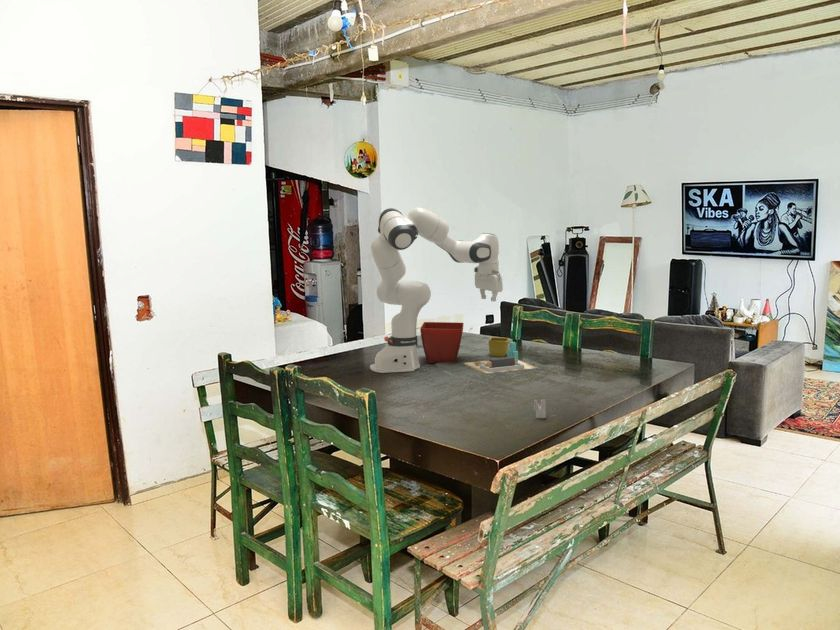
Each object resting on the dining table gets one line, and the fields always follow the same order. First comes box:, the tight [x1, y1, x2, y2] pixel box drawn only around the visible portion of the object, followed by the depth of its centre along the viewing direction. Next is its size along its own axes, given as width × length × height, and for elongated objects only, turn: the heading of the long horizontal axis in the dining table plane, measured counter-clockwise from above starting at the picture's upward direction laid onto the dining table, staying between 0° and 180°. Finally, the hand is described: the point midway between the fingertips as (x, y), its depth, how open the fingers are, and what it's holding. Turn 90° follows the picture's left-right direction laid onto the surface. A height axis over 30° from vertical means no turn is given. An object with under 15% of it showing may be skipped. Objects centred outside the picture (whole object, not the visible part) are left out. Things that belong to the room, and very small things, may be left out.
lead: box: [487, 356, 517, 368], centre depth 292 cm, size 13×3×4 cm, turn 112°
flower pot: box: [488, 337, 510, 358], centre depth 319 cm, size 9×9×9 cm
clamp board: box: [462, 359, 538, 374], centre depth 298 cm, size 26×22×3 cm
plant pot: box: [419, 321, 464, 364], centre depth 313 cm, size 19×19×17 cm
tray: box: [480, 362, 525, 373], centre depth 293 cm, size 17×9×2 cm, turn 112°
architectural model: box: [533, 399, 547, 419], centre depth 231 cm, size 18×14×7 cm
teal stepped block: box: [506, 341, 519, 362], centre depth 305 cm, size 2×6×8 cm, turn 22°
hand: (488, 300), depth 304 cm, fingers open, 8 cm apart
